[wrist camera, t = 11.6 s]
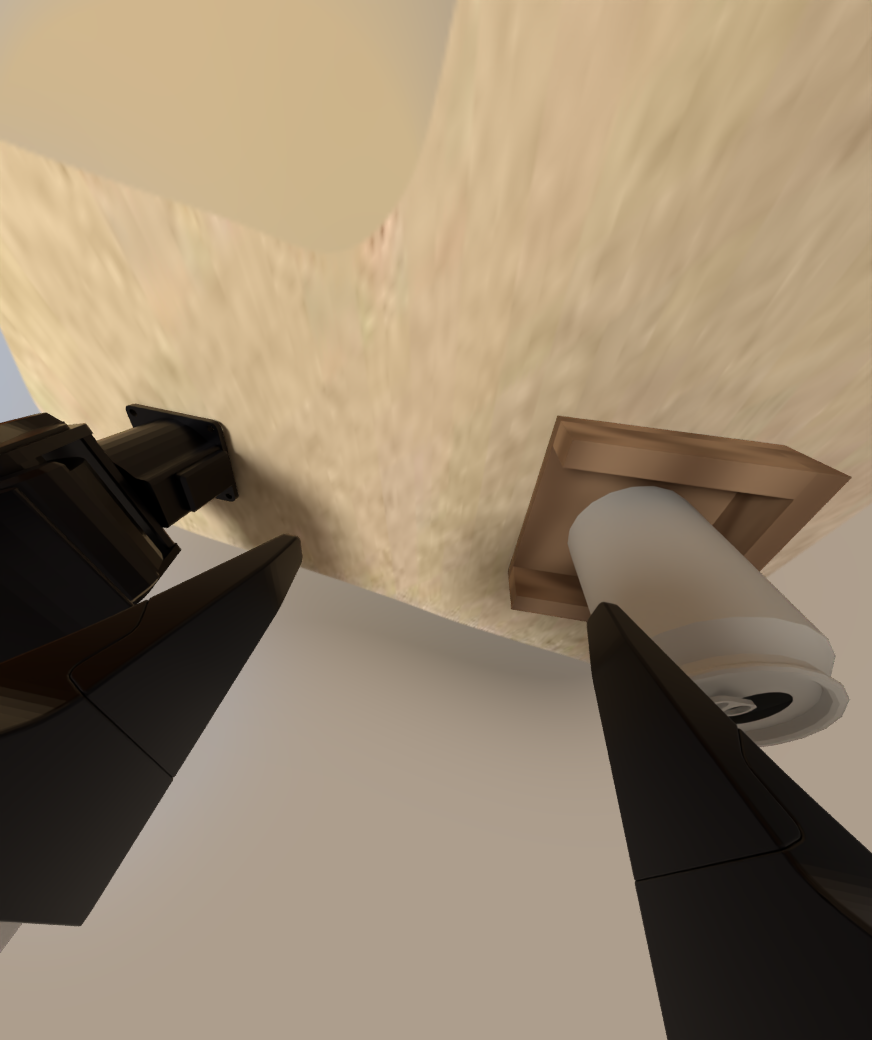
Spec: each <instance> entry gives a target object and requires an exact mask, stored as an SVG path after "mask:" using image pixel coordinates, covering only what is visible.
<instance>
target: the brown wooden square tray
mask: <svg viewBox="0 0 872 1040" xmlns="http://www.w3.org/2000/svg"><path fill="white" fill-rule="evenodd" d="M851 478H852V477H850V476H848V475H846V474H844V473H842V472H840V471H838V470H836V469H833V468H831V467H829V466H827V465H825V464H823V463H821V462H819V461H817V460H814V459H812V458H810V457H808V456H806V455H804V454H802V453H800V452H798V451H796V450H793V449H791V448H789V447H787V446H785V445H777V444H769V443H762V442H754V441H747V440H739V439H731V438H724V437H716V436H709V435H701V434H693V433H686V432H678V431H670V430H663V429H655V428H648V427H640V426H632V425H625V424H617V423H610V422H602V421H594V420H587V419H579V418H571V417H564V416H557V419H556V422H555V425H554V428H553V432H552V435H551V438H550V441H549V444H548V447H547V450H546V454H545V457H544V460H543V463H542V466H541V469H540V472H539V476H538V479H537V482H536V485H535V488H534V491H533V494H532V497H531V501H530V504H529V507H528V510H527V513H526V516H525V519H524V523H523V526H522V529H521V532H520V535H519V538H518V541H517V545H516V548H515V551H514V554H513V557H512V560H511V563H510V567H509V570H508V576H509V588H510V599H511V609H513V610H519V611H525V612H531V613H537V614H544V615H550V616H556V617H562V618H568V619H574V620H580V621H586V622H587V621H588V618H589V617H590V615H591V614H590V611H589V608H588V605H587V602H586V599H585V596H584V593H583V590H582V587H581V584H580V581H579V578H578V575H577V572H576V569H575V566H574V563H573V560H572V557H571V554H570V551H569V547H568V544H567V543H568V537H569V530H570V528H571V526H572V525H573V523H574V521H575V520H576V518H577V516H578V515H579V514H580V513H581V512H582V511H583V510H584V509H586V508H587V507H588V506H589V505H590V504H591V503H592V502H594V501H596V500H598V499H600V498H602V497H603V496H605V495H607V494H609V493H611V492H615V491H618V490H622V489H626V488H629V487H641V486H655V487H659V488H663V489H667V490H671V491H674V492H675V493H677V494H678V495H680V496H681V497H683V498H684V499H685V500H687V501H688V502H689V503H690V504H691V505H692V506H693V507H694V508H695V509H696V510H697V511H698V512H699V513H700V514H701V515H702V516H703V517H704V518H705V519H706V520H707V521H708V522H709V523H710V524H711V525H712V526H713V527H714V528H715V529H716V530H717V531H718V532H720V533H721V534H722V535H723V536H724V537H725V538H726V539H727V540H728V541H729V542H730V543H731V544H732V545H733V546H734V547H735V548H736V549H737V550H738V551H739V552H740V553H741V554H742V555H743V556H744V557H745V558H746V559H747V560H748V561H749V562H750V563H751V564H752V565H753V566H754V567H755V568H756V569H757V570H758V571H759V572H760V571H761V570H762V569H763V568H764V567H765V565H766V564H767V563H768V562H769V561H770V560H771V559H772V558H773V557H774V556H775V555H776V554H777V553H778V552H779V551H780V550H781V549H782V548H783V547H784V546H785V545H786V544H787V543H788V542H789V541H790V540H791V539H792V538H793V537H794V536H795V535H796V534H797V533H798V532H799V531H800V530H801V529H802V528H803V527H804V526H805V525H806V524H807V523H808V522H809V521H810V520H811V519H812V518H813V517H814V515H815V514H816V513H817V512H818V511H819V510H820V509H821V508H822V507H823V506H824V505H825V504H826V503H827V502H828V501H829V500H830V499H831V498H832V497H833V496H834V495H835V494H836V493H837V492H838V491H839V490H840V489H841V488H842V487H843V486H844V485H845V484H846V483H847V482H848V481H849V480H850V479H851Z"/></svg>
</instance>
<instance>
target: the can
mask: <svg viewBox="0 0 872 1040" xmlns="http://www.w3.org/2000/svg"><path fill="white" fill-rule="evenodd" d="M567 544H568V547H569V551H570V554H571V557H572V560H573V563H574V566H575V569H576V572H577V575H578V578H579V581H580V584H581V587H582V590H583V593H584V596H585V599H586V602H587V605H588V608H589V611H590V614H592V613H593V611H594V610H595V608H596V607H597V606H598V604H599V603H601V602H609V603H613V604H616V605H618V606H619V607H620V608H621V609H622V610H623V611H624V612H625V613H626V614H627V615H628V616H629V617H630V618H631V619H632V620H633V621H634V622H635V623H636V624H637V625H638V626H639V627H640V628H641V629H642V630H643V631H644V632H645V633H646V634H647V635H648V636H649V637H650V638H651V639H652V640H653V641H654V642H655V643H656V644H657V645H658V646H659V647H660V648H661V649H662V650H663V651H664V652H665V653H666V654H667V655H668V656H669V657H670V658H671V659H672V660H673V661H674V662H675V663H676V664H677V665H678V666H679V667H680V668H681V669H682V670H683V671H684V672H685V673H686V674H687V675H688V676H689V677H690V678H691V679H692V680H693V681H694V682H695V683H696V684H697V685H698V686H699V687H700V688H701V689H702V690H703V691H704V692H705V693H706V694H707V695H708V696H709V697H710V698H711V699H712V700H713V701H714V702H715V703H716V705H717V706H718V707H719V708H720V709H721V710H722V711H723V712H724V713H725V714H726V715H727V716H728V717H729V718H730V719H731V720H732V721H733V722H734V723H735V724H736V725H737V726H738V728H740V729H741V730H742V731H743V732H744V733H745V734H746V735H747V736H748V737H749V738H750V739H751V740H752V741H753V742H754V743H755V744H756V745H757V746H758V747H764V746H772V745H778V744H782V743H786V742H790V741H794V740H798V739H802V738H805V737H807V736H809V735H812V734H814V733H816V732H819V731H821V730H824V729H826V728H827V727H829V726H830V725H831V724H833V723H834V722H835V721H837V720H838V719H839V718H841V717H842V715H843V713H844V711H845V709H846V706H847V704H848V702H849V697H848V695H847V693H846V690H845V688H844V686H843V685H842V684H841V683H840V682H838V681H837V680H835V679H833V678H832V677H831V673H832V668H833V664H834V660H835V654H834V651H833V649H832V647H831V645H830V642H829V640H828V638H826V637H825V636H824V635H823V634H822V633H821V632H820V631H819V630H818V629H817V628H816V627H815V626H814V625H813V624H812V623H811V622H810V621H809V620H808V619H807V618H806V617H805V616H804V615H803V614H802V613H801V612H800V611H799V610H798V609H797V608H796V607H795V606H794V605H793V604H792V603H791V602H790V601H789V600H788V599H787V598H786V597H785V596H784V595H782V593H781V592H779V590H778V589H777V588H776V587H775V586H774V585H772V584H771V583H770V582H769V581H768V580H767V579H766V578H765V577H764V576H763V575H762V574H761V573H760V572H759V571H758V570H757V569H756V568H755V567H754V566H753V565H752V564H751V563H750V562H749V561H748V560H747V559H746V558H745V557H744V556H743V555H742V554H741V553H740V552H739V551H738V550H737V549H736V548H735V547H734V546H733V545H732V544H731V543H730V542H729V541H728V540H727V539H726V538H725V537H724V536H723V535H722V534H721V533H720V532H718V531H717V530H716V529H715V528H714V527H713V526H712V525H711V524H710V523H709V522H708V521H707V520H706V519H705V518H704V517H703V516H702V515H701V514H700V513H699V512H698V511H697V510H696V509H695V508H694V507H693V506H692V505H691V504H690V503H689V502H688V501H687V500H685V499H684V498H683V497H681V496H680V495H678V494H677V493H675V492H674V491H671V490H667V489H663V488H659V487H655V486H641V487H629V488H626V489H622V490H618V491H615V492H611V493H609V494H607V495H605V496H603V497H602V498H600V499H598V500H596V501H594V502H592V503H591V504H590V505H589V506H588V507H587V508H586V509H584V510H583V511H582V512H581V513H580V514H579V515H578V516H577V518H576V520H575V521H574V523H573V525H572V526H571V528H570V530H569V537H568V543H567Z"/></svg>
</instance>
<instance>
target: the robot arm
mask: <svg viewBox="0 0 872 1040" xmlns="http://www.w3.org/2000/svg"><path fill="white" fill-rule="evenodd" d="M126 412H127V414H128V417H129V419H130V421H131V424H132V426H133V428H131V429H129V430H126V431H123V432H120V433H117V434H114V435H112V436H109V437H106V438H103V439H100V440H98V441H96V440H95V438H94V437H93V436H92V433H93V432H92V431H91V430H90V428H89V427H88V426H87V424H86V423H82V424H73V425H67V424H66V423H65V422H64V421H60V420H58V419H57V418H55V417H53V416H52V415H50V414H48V413H39V414H34V415H30V416H26V417H22V418H18V419H14V420H10V421H6V422H2V423H0V952H1V951H2V950H3V948H4V947H5V946H6V944H7V943H8V942H9V940H10V939H11V938H12V936H13V935H14V934H15V932H16V931H17V930H18V928H19V927H20V926H21V924H22V923H32V924H48V925H65V926H81V925H82V924H83V922H84V921H85V920H86V918H87V917H88V915H89V914H90V912H91V911H92V909H93V907H94V906H95V904H96V903H97V901H98V899H99V898H100V896H101V895H102V893H103V892H104V890H105V888H106V887H107V885H108V884H109V882H110V880H111V879H112V877H113V875H114V873H115V872H116V870H117V869H118V867H119V866H120V864H121V863H122V861H123V859H124V858H125V856H126V854H127V853H128V851H129V850H130V848H131V846H132V845H133V843H134V842H135V840H136V839H137V837H138V835H139V833H140V832H141V831H142V829H143V827H144V826H145V824H146V822H147V821H148V819H149V818H150V816H151V815H152V813H153V811H154V810H155V808H156V806H157V805H158V803H159V802H160V800H161V798H162V797H163V795H164V794H165V792H166V790H167V789H168V787H169V785H170V784H171V782H172V781H173V777H175V776H176V774H177V772H178V770H179V769H180V768H181V766H182V764H183V763H184V761H185V760H186V758H187V756H188V755H189V753H190V752H191V750H192V748H193V747H194V745H195V743H196V742H197V740H198V739H199V737H200V735H201V734H202V732H203V731H204V729H205V728H206V726H207V724H208V723H209V721H210V720H211V718H212V716H213V715H214V713H215V711H216V710H217V708H218V707H219V705H220V703H221V702H222V700H223V699H224V697H225V695H226V694H227V692H228V691H229V689H230V687H231V686H232V684H233V683H234V681H235V679H236V678H237V676H238V675H239V673H240V671H241V670H242V668H243V667H244V665H245V663H246V662H247V660H248V659H249V657H250V655H251V654H252V652H253V651H254V649H255V647H256V646H257V644H258V643H259V641H260V639H261V638H262V636H263V635H264V633H265V631H266V630H267V628H268V626H269V625H270V623H271V622H272V620H273V618H274V617H275V615H276V614H277V612H278V610H279V608H280V606H281V604H282V602H283V600H284V598H285V596H286V594H287V592H288V590H289V588H290V586H291V583H292V582H293V580H294V577H295V575H296V573H297V571H298V569H299V567H300V565H301V562H302V550H301V541H300V538H299V537H298V536H295V535H290V534H283V535H281V536H279V537H276V538H274V539H272V540H270V541H268V542H266V543H264V544H262V545H260V546H258V547H256V548H253V549H251V550H249V551H247V552H245V553H243V554H241V555H239V556H237V557H235V558H233V559H231V560H228V561H226V562H225V563H222V564H220V565H218V566H216V567H214V568H212V569H210V570H208V571H205V572H203V573H201V574H199V575H197V576H195V577H193V578H191V579H189V580H187V581H185V582H182V583H180V584H179V585H176V586H174V587H172V588H170V589H168V590H166V591H164V592H162V593H160V594H157V595H156V596H153V597H152V598H150V599H149V600H145V601H143V602H141V603H139V602H140V601H141V600H142V599H143V598H144V597H145V596H146V595H147V594H148V593H149V592H150V591H151V589H152V588H153V587H154V585H155V584H156V583H157V581H158V580H159V579H160V577H161V576H162V575H163V573H164V572H165V571H166V569H167V568H168V567H169V565H170V564H171V563H172V561H173V560H174V559H175V558H176V556H177V555H178V554H179V552H180V551H181V548H180V547H179V546H178V545H177V543H174V542H173V541H172V540H171V538H170V537H169V535H168V534H167V533H166V531H165V530H164V529H163V527H164V528H168V527H170V526H171V525H173V524H174V523H175V522H177V521H178V520H180V519H181V518H182V517H184V516H185V515H187V514H188V513H189V512H191V511H192V512H195V511H197V510H198V509H200V508H201V507H203V506H204V505H205V504H207V503H208V502H210V501H211V500H212V499H214V498H217V499H221V500H226V501H235V500H236V499H237V498H238V492H237V488H236V484H235V480H234V476H233V472H232V468H231V464H230V460H229V456H228V452H227V448H226V444H225V440H224V435H223V431H222V428H221V426H220V424H219V423H218V422H216V421H214V420H211V419H206V418H201V417H196V416H192V415H187V414H182V413H177V412H172V411H168V410H163V409H158V408H153V407H148V406H143V405H139V404H131V405H128V406H126ZM211 426H212V427H213V428H214V429H213V428H212V427H211ZM587 632H588V642H589V652H590V663H591V671H592V678H593V684H594V689H595V693H596V698H597V703H598V708H599V713H600V717H601V722H602V727H603V731H604V736H605V741H606V746H607V750H608V755H609V761H610V765H611V770H612V775H613V780H614V785H615V789H616V794H617V799H618V804H619V809H620V813H621V818H622V823H623V828H624V833H625V837H626V842H627V847H628V852H629V857H630V861H631V866H632V871H633V875H634V879H635V886H636V892H637V896H638V901H639V906H640V911H641V915H642V920H643V925H644V930H645V935H646V939H647V944H648V949H649V954H650V958H651V963H652V968H653V973H654V978H655V982H656V987H657V992H658V997H659V1001H660V1006H661V1011H662V1016H663V1021H664V1026H665V1030H666V1035H667V1040H872V853H871V852H870V851H869V850H868V849H867V848H866V847H865V846H864V845H862V844H861V843H860V842H859V841H858V840H857V839H856V838H855V837H854V836H853V835H851V834H850V833H849V832H848V831H847V830H846V829H845V828H844V827H843V826H842V825H841V824H839V822H837V821H836V820H835V819H834V818H833V817H832V816H831V815H830V814H828V812H827V811H825V810H824V809H823V808H822V807H821V806H820V805H819V804H818V803H817V802H816V801H815V800H814V799H813V798H811V797H810V796H809V795H808V794H807V793H806V792H805V791H804V790H803V789H802V788H801V787H800V786H799V785H798V784H797V783H795V782H794V781H793V780H792V779H791V778H790V777H789V776H788V775H787V774H786V773H785V772H784V771H783V770H782V769H781V768H779V766H778V765H776V763H775V762H773V760H772V759H771V758H769V757H768V756H767V755H766V754H765V753H764V752H763V751H762V750H761V749H760V748H759V747H758V746H757V745H756V744H755V743H754V742H753V741H752V740H751V739H750V738H749V737H748V736H747V735H746V734H745V733H744V732H743V731H742V730H741V729H740V728H738V726H737V725H736V724H735V723H734V722H733V721H732V720H731V719H730V718H729V717H728V716H727V715H726V714H725V713H724V712H723V711H722V710H721V709H720V708H719V707H718V706H717V705H716V703H715V702H714V701H713V700H712V699H711V698H710V697H709V696H708V695H707V694H706V693H705V692H704V691H703V690H702V689H701V688H700V687H699V686H698V685H697V684H696V683H695V682H694V681H693V680H692V679H691V678H690V677H689V676H688V675H687V674H686V673H685V672H684V671H683V670H682V669H681V668H680V667H679V666H678V665H677V664H676V663H675V662H674V661H673V660H672V659H671V658H670V657H669V656H668V655H667V654H666V653H665V652H664V651H663V650H662V649H661V648H660V647H659V646H658V645H657V644H656V643H655V642H654V641H653V640H652V639H651V638H650V637H649V636H648V635H647V634H646V633H645V632H644V631H643V630H642V629H641V628H640V627H639V626H638V625H637V624H636V623H635V622H634V621H633V620H632V619H631V618H630V617H629V616H628V615H627V614H626V613H625V612H624V611H623V610H622V609H621V608H620V607H619V606H618V605H616V604H613V603H609V602H601V603H599V604H598V606H597V607H596V608H595V610H594V611H593V613H592V614H591V615H590V617H589V618H588V621H587Z"/></svg>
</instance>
